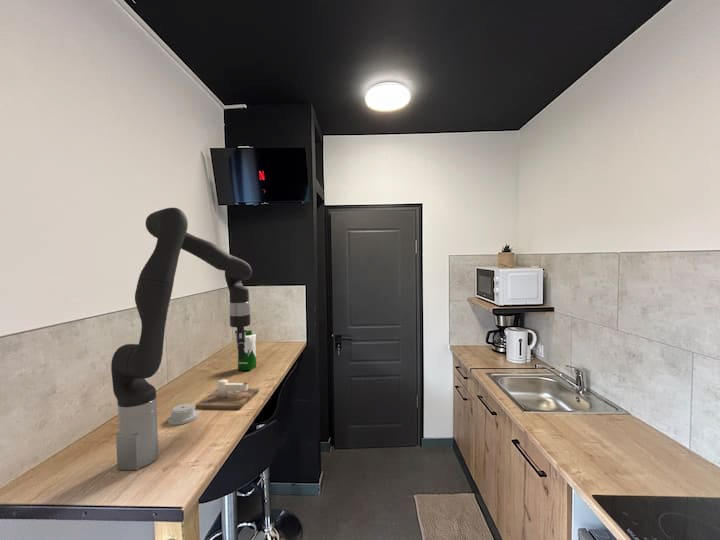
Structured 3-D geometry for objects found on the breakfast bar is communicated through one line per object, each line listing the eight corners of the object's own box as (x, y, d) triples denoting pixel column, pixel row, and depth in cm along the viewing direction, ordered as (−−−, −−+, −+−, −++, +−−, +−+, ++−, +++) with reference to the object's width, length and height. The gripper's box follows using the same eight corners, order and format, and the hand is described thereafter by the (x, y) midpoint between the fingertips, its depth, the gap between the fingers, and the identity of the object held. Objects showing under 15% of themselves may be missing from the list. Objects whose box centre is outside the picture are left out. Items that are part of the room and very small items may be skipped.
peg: (245, 397, 138) (245, 382, 138) (216, 397, 139) (215, 382, 139) (249, 393, 142) (249, 379, 142) (220, 393, 143) (220, 379, 143)
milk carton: (258, 366, 186) (257, 330, 186) (250, 371, 177) (249, 333, 177) (243, 366, 188) (242, 330, 187) (235, 371, 179) (233, 333, 178)
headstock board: (240, 409, 131) (240, 404, 131) (195, 408, 133) (195, 404, 133) (258, 391, 149) (258, 387, 149) (219, 391, 151) (219, 387, 151)
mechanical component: (160, 424, 120) (185, 426, 118) (160, 412, 120) (185, 414, 118) (180, 412, 130) (204, 414, 128) (180, 401, 130) (203, 402, 128)
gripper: (250, 315, 127) (252, 360, 127) (249, 310, 140) (251, 351, 141) (229, 317, 124) (230, 362, 125) (230, 312, 138) (231, 353, 138)
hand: (241, 356), depth 133 cm, fingers open, 6 cm apart
